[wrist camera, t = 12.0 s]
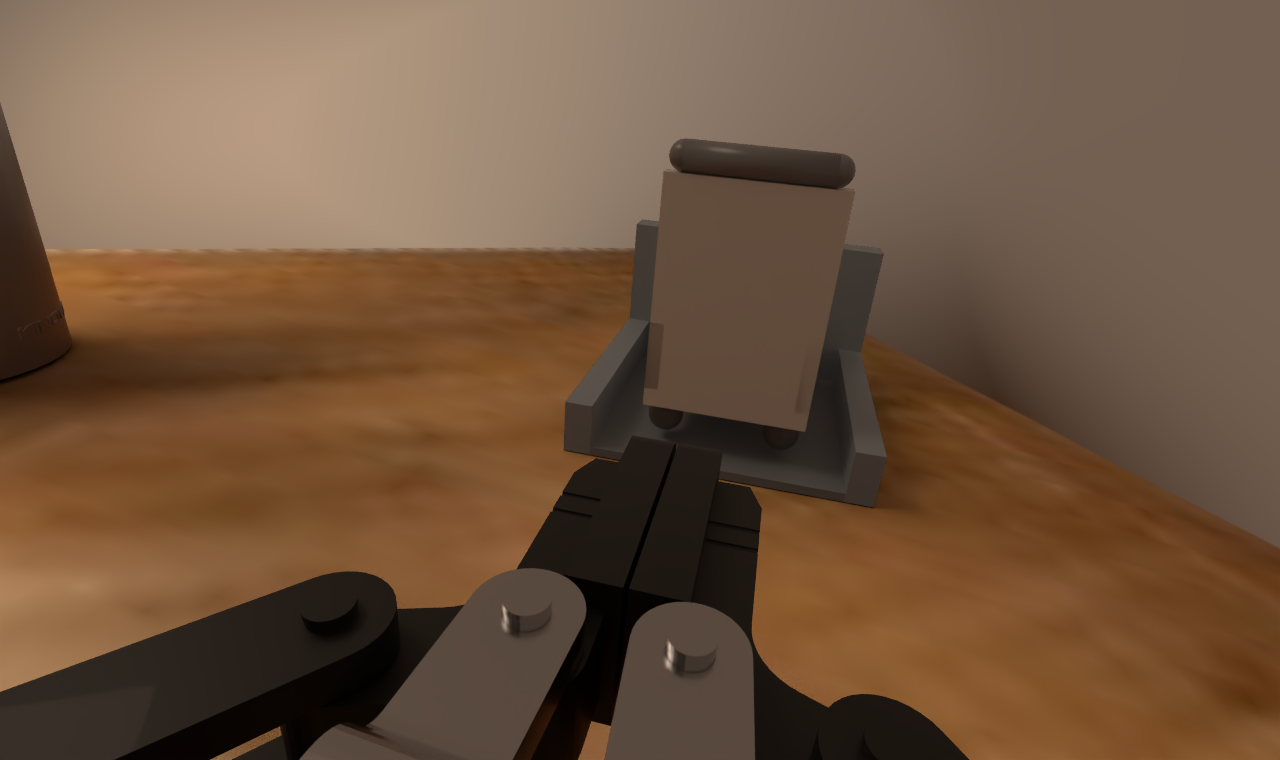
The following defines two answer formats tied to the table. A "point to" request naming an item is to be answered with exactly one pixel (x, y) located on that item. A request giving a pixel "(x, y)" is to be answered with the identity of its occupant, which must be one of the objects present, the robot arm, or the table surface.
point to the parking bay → (815, 465)
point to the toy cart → (744, 283)
